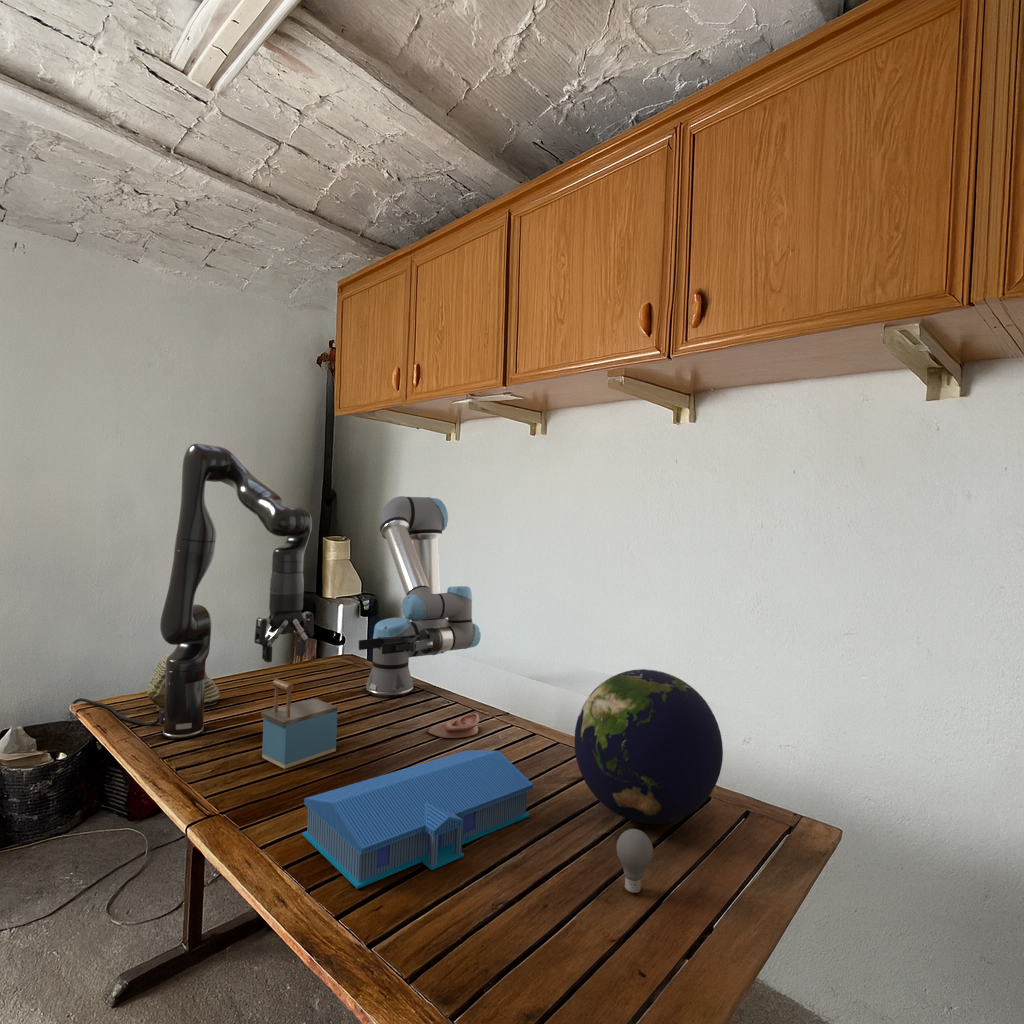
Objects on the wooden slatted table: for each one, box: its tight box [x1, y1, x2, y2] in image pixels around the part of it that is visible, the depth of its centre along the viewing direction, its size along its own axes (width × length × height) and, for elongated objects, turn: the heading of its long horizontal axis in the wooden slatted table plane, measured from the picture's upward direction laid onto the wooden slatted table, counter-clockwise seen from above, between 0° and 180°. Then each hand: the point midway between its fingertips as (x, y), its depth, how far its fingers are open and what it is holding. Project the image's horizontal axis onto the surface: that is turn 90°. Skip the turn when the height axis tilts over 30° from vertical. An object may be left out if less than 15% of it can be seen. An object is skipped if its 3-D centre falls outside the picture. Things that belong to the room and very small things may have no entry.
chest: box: [261, 710, 338, 770], centre depth 155 cm, size 14×9×10 cm, turn 143°
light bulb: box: [615, 828, 654, 894], centre depth 106 cm, size 6×6×10 cm
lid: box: [260, 678, 338, 726], centre depth 154 cm, size 15×9×9 cm, turn 143°
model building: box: [302, 749, 534, 890], centre depth 123 cm, size 39×24×10 cm, turn 132°
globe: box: [573, 668, 724, 825], centre depth 131 cm, size 30×30×30 cm
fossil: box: [147, 654, 221, 712], centre depth 185 cm, size 9×18×15 cm, turn 132°
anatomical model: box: [427, 712, 480, 739], centre depth 174 cm, size 13×4×12 cm
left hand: (284, 658), depth 150 cm, fingers open, 8 cm apart
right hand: (370, 647), depth 177 cm, fingers open, 13 cm apart
